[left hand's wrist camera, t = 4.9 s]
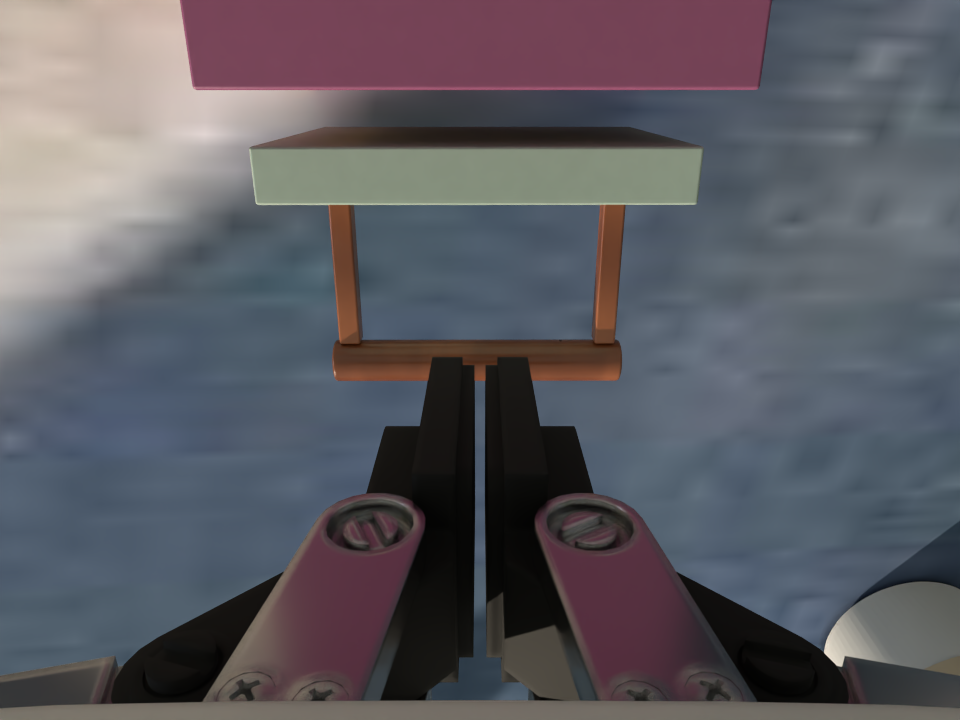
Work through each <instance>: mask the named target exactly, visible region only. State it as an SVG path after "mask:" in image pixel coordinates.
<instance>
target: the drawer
mask: <svg viewBox="0 0 960 720" xmlns="http://www.w3.org/2000/svg"><path fill="white" fill-rule="evenodd" d="M249 151H250V159H251V168H252V176H253V184H254V192H255V200H256V204H258V205H328V207H329V219H330V231H331V243H332V255H333V267H334V279H335V291H336V303H337V315H338V327H339V340H337V341H336V342H335V344H334V348H333V356H332V364H333V373H334V376H335V379H336V380H338V381H428V378H429V372H430V367H431V361H432V357H463V365H475V381H485V365H497V357H528V361H529V367H530V372H531V378H532V381H616V380H618V379H619V377H620V374H621V369H622V351H621V346H620V343H619V341H618V340H615V331H616V318H617V306H618V293H619V281H620V268H621V255H622V243H623V230H624V218H625V205H695V204H697V202H698V193H699V185H700V176H701V168H702V160H703V151H704V149H703V147H701V146H698V145H694V144H690V143H687V142H683V141H679V140H676V139H672V138H668V137H664V136H661V135H657V134H653V133H650V132H646V131H642V130H638V129H635V128H631V127H323V128H320V129H316V130H312V131H308V132H305V133H301V134H297V135H293V136H290V137H286V138H282V139H278V140H275V141H271V142H267V143H263V144H260V145H256V146H252V147H250V149H249ZM354 205H600V216H599V231H598V246H597V261H596V277H595V292H594V307H593V322H592V338H593V340H362V337H363V331H362V316H361V302H360V287H359V273H358V258H357V244H356V229H355V215H354Z"/></svg>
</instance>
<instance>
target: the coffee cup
mask: <svg viewBox="0 0 960 720" xmlns="http://www.w3.org/2000/svg"><path fill="white" fill-rule="evenodd" d="M824 653H825V654H826V655H827V656H828V657H829V658H830V659H831V660H832V661H833V662H834V663H835V664H836V666H841V667H842V665H843V661H844V657H845V656H849V657H854V658H860V659H866V660H872V661H878V662H883V663H889V664H895V665H901V666H906V667H912V668H918V669H924V670H930V671H935V672H941V673H947V674H953V675H958V676H960V589H958V588H956V587H953V586H950V585H947V584H942V583H936V582H911V583H905V584H900V585H896V586H892V587H889V588H886V589H883V590H881V591H878V592H876V593H874V594H872V595H870V596H868V597H866V598H864V599H863V600H861V601H860V602H858V603H857V604H855V605H854V606H853V607H851V608H850V609H849V610H848V611H847V612H846V613H845V614H844V615H843V616H842V617H841V618H840V619H839V620H838V621H837V623H836V624H835V625H834V627H833V628H832V630H831V632H830V634H829V636H828V638H827V641H826V645H825V650H824Z"/></svg>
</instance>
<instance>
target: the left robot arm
mask: <svg viewBox="0 0 960 720" xmlns="http://www.w3.org/2000/svg"><path fill="white" fill-rule="evenodd" d="M474 552H475V365H463V357H432V361H431V367H430V372H429V378H428V384H427V389H426V395H425V401H424V406H423V412H422V417H421V423H420V426H386V427H385V429H384V432H383V436H382V439H381V443H380V447H379V450H378V454H377V457H376V461H375V464H374V468H373V471H372V475H371V479H370V482H369V486H368V489H367V493H366V494H362V495H356V496H352V497H349V498H347V499H344V500H341V501H338V502H337V503H335V504H334V505H332V506H330V507H329V508H327V509H326V510H325V511H324V512H323V513H322V514H321V515H320V516H319V517H318V519H317V520H316V522H315V523H314V525H313V526H312V528H311V530H310V531H309V533H308V534H307V536H306V538H305V539H304V541H303V542H302V544H301V546H300V547H299V549H298V550H297V552H296V554H295V555H294V557H293V558H292V560H291V561H290V563H289V565H288V566H287V568H286V569H285V571H284V572H282V573H280V574H279V575H277V576H275V577H273V578H271V579H269V580H267V581H265V582H263V583H261V584H259V585H257V586H256V587H254V588H252V589H250V590H248V591H246V592H244V593H242V594H240V595H238V596H236V597H235V598H233V599H231V600H229V601H227V602H225V603H223V604H221V605H219V606H217V607H215V608H213V609H212V610H210V611H208V612H206V613H204V614H202V615H200V616H198V617H196V618H194V619H192V620H191V621H189V622H187V623H185V624H183V625H181V626H179V627H177V628H175V629H173V630H171V631H169V632H168V633H166V634H164V635H162V636H160V637H158V638H157V639H155V640H153V641H152V642H150V643H149V644H147V645H146V646H144V647H143V648H141V649H140V650H139V651H137V652H136V653H135V654H134V655H133V656H132V657H131V658H130V659H129V660H128V661H127V662H126V663H125V664H124V666H119V667H118V665H117V661H116V657H115V656H111V657H106V658H100V659H94V660H88V661H82V662H77V663H71V664H65V665H59V666H54V667H48V668H42V669H36V670H30V671H25V672H19V673H13V674H7V675H2V676H0V720H960V676H958V675H953V674H947V673H941V672H935V671H930V670H924V669H918V668H912V667H906V666H901V665H895V664H889V663H883V662H878V661H872V660H866V659H860V658H854V657H849V656H845V657H844V661H843V665H842V667H841V666H836V664H835V663H834V662H833V661H832V660H831V659H830V658H829V657H828V656H827V655H826V654H825V653H824V652H823V651H821V650H820V649H819V648H817V647H816V646H814V645H813V644H811V643H810V642H808V641H807V640H805V639H803V638H802V637H800V636H798V635H796V634H794V633H792V632H791V631H789V630H787V629H785V628H783V627H781V626H779V625H777V624H775V623H773V622H771V621H769V620H768V619H766V618H764V617H762V616H760V615H758V614H756V613H754V612H752V611H750V610H748V609H747V608H745V607H743V606H741V605H739V604H737V603H735V602H733V601H731V600H729V599H727V598H725V597H724V596H722V595H720V594H718V593H716V592H714V591H712V590H710V589H708V588H706V587H704V586H703V585H701V584H699V583H697V582H695V581H693V580H691V579H689V578H687V577H685V576H683V575H681V574H680V573H678V572H676V571H675V569H674V568H673V566H672V565H671V563H670V561H669V560H668V558H667V557H666V555H665V553H664V552H663V550H662V549H661V547H660V546H659V544H658V542H657V541H656V539H655V538H654V536H653V534H652V533H651V531H650V530H649V528H648V526H647V525H646V523H645V522H644V520H643V519H642V517H641V516H640V515H639V514H638V513H637V512H636V511H635V510H634V509H633V508H631V507H630V506H628V505H626V504H625V503H623V502H622V501H619V500H616V499H613V498H611V497H608V496H604V495H598V494H594V493H593V489H592V486H591V482H590V479H589V475H588V471H587V468H586V464H585V461H584V457H583V454H582V450H581V446H580V443H579V439H578V436H577V432H576V429H575V427H574V426H540V423H539V417H538V412H537V406H536V401H535V395H534V389H533V384H532V378H531V372H530V367H529V361H528V357H497V365H485V552H486V636H487V657H501V670H502V682H521V683H522V684H523V685H525V686H526V687H527V688H529V689H528V701H517V700H444V701H432V689H431V688H433V687H434V686H435V685H437V684H438V683H439V682H458V670H459V657H473V637H474Z"/></svg>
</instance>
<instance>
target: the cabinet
mask: <svg viewBox="0 0 960 720" xmlns="http://www.w3.org/2000/svg"><path fill="white" fill-rule="evenodd" d="M180 3H181V10H182V17H183V24H184V31H185V37H186V44H187V51H188V58H189V64H190V71H191V78H192V85H193V88H194V89H196V90H756V89H758V88H759V86H760V80H761V73H762V66H763V59H764V52H765V45H766V38H767V31H768V24H769V17H770V10H771V4H772V0H180Z"/></svg>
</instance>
